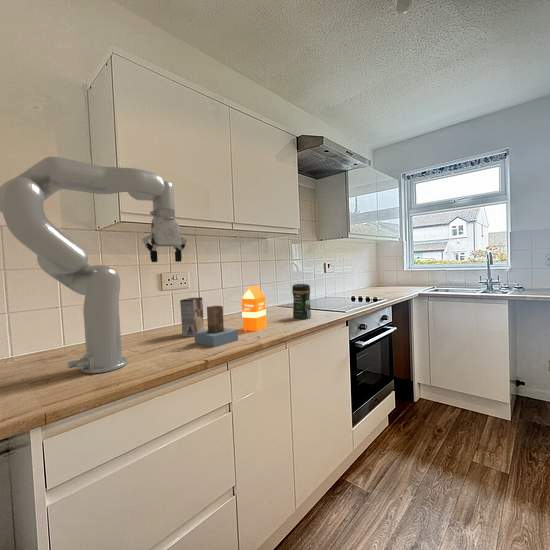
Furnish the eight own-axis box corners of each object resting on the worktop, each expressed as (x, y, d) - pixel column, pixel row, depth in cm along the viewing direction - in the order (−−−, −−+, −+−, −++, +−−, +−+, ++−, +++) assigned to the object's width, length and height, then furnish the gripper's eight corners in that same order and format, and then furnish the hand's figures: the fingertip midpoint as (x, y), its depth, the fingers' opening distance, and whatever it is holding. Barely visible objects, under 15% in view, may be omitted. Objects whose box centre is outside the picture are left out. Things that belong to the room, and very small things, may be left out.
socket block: (214, 347, 111) (213, 336, 111) (195, 342, 118) (194, 332, 118) (238, 340, 120) (237, 330, 120) (218, 336, 128) (218, 327, 127)
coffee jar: (290, 318, 164) (289, 284, 163) (300, 316, 169) (298, 283, 168) (304, 320, 157) (302, 284, 156) (313, 317, 162) (312, 283, 162)
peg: (215, 343, 116) (213, 307, 116) (208, 342, 119) (206, 306, 118) (224, 341, 119) (222, 306, 119) (217, 339, 122) (215, 305, 122)
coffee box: (191, 331, 139) (189, 297, 139) (204, 331, 138) (202, 297, 138) (181, 336, 130) (179, 299, 130) (195, 336, 129) (193, 299, 129)
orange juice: (266, 327, 142) (264, 285, 142) (257, 331, 134) (255, 286, 134) (252, 326, 146) (250, 285, 145) (242, 330, 138) (240, 287, 137)
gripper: (146, 211, 102) (149, 261, 103) (190, 216, 115) (192, 261, 116) (136, 214, 107) (139, 262, 108) (179, 219, 120) (181, 261, 121)
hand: (166, 261), depth 112 cm, fingers open, 9 cm apart
